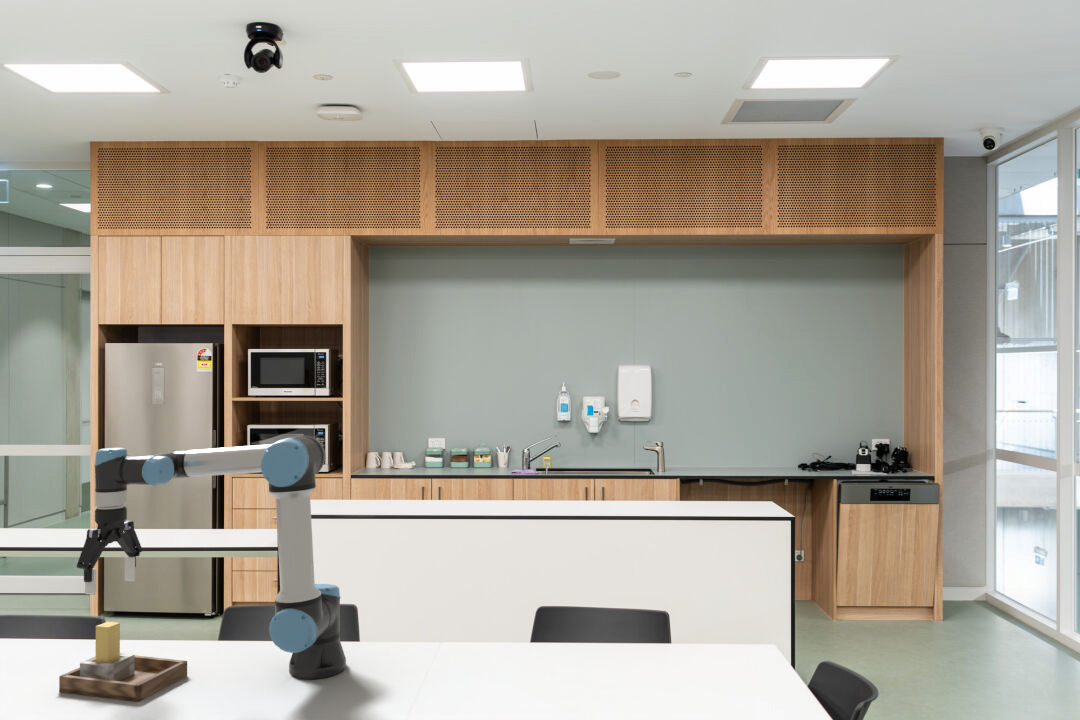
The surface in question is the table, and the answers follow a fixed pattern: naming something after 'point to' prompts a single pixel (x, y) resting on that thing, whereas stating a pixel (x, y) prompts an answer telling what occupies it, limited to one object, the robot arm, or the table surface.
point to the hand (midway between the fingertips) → (110, 587)
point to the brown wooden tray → (123, 677)
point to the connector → (107, 642)
